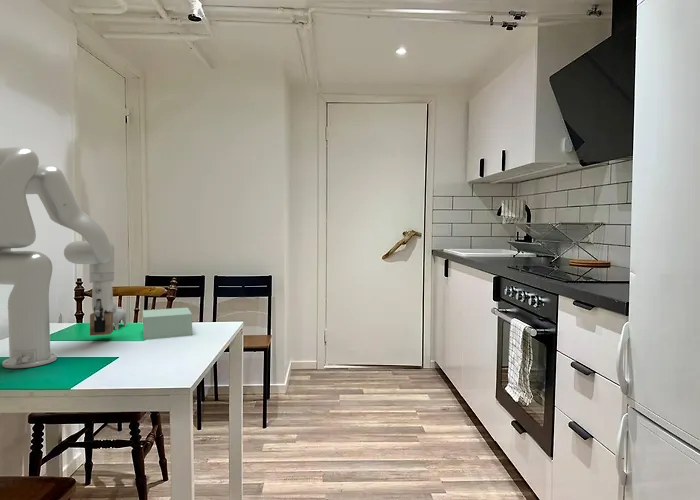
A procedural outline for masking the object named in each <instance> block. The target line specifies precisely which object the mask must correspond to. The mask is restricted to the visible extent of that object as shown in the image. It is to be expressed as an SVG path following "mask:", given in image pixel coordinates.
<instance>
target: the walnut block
mask: <svg viewBox="0 0 700 500" xmlns="http://www.w3.org/2000/svg"><path fill="white" fill-rule="evenodd" d="M101 314H102V313H101ZM94 318H95V312H94V311H93V312H92V313H90V314H89V336H105V335H106V336H108V335H111V334H112V333H113V332H114V323H113V312H105V316H104V320H105V332H97V333H95V332H94V321H95V320H94Z"/></svg>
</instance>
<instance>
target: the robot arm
mask: <svg viewBox="0 0 700 500" xmlns="http://www.w3.org/2000/svg"><path fill="white" fill-rule="evenodd" d="M27 195H37V196H38V198H39V200H40V202H41V204H42V205H43V207H44V209H45V211H46V213H47V215H48V217H49V219H50V220H51V221H53V222H54V223H56V224H58V225H60V226H62V227H64V228H67V229H69V230H71V231H73V232H75V233H77V234H79V235H81V237H83V238H84V239H85V240H77V241H76V240H75V241H72V242H69V243H68V244H67V245H66V246H65V248H64V249H63V256H64V258H65V260H67V261H68V262H70V263H71V264H75V265H88V267H89V273H88V274H89V278H88V281H89V284H90V283H91V284H92V289H91V290H92V296H91V307H92V312H93V313H94V312H95V318H94V320H95V321H94V332H95V333H97V332H105V320H104V316H105V312H109V311H110V310H111V309H112V308H113V303H114V296H113V295H114V294H113V291H114V290H113V283H115V245H114V243H113V242H110V239H109V237H108V235H107V233H106V231H105V230H104V228H103V227H102V226H101V225H100V224H99V223H98V222H97V221H96V220H94V219H93V218H92V217H91V216H90V215H88V214H87V213H85V212H84V211H83V210H82V209H81V208H80V206H79V204H78V201H77V200H76V197H75V195H74V193H73V192H72V189H71V187H70V185H69V183H68V181H67V179H66V177H65V175H64V173H63V171H62V170H61V169H60V168H58V167H57V166H54V165H49V164H48V165H45V164H42V165H41V164H40V161H39V157H38V155H37V153H36V152H35V151H34V150H32V149H30V148H27V147H19V146H18V147H17V146H16V147H14V146H13V147H1V148H0V285H11V286H12V285H13V287H12V289H11V291H10V294H9V296H8V300H7V314H8V315H7V316H8V321H7V322H8V348H9V349H8V352H9V353H8V354H9V358H6V359H4V360H2V367H3V368H6V369H25V368H27V369H28V368H34V367H40V366H43V365H48V364H50V363H53V362H55V361H56V360H57V359H58V357H57V356H58V355H57V354H56V353H52V352H51V332H50V331H51V329H50V328H51V325H50V286H51V280H52V276H53V275H52V274H53V263H52V261H51V259H50V257H49V256H48V255H46V254H44V253H42V252H40V251H35V250H33V251H32V250H12V249H23V248H27V247H30V246H31V245H33V244H34V243H35V241H36V238H37V234H36V228H35V224H34V221H33V218H32V215H31V211H30V207H29V204H28V199H27ZM101 313H102V314H101Z"/></svg>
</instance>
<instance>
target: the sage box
mask: <svg viewBox="0 0 700 500" xmlns="http://www.w3.org/2000/svg"><path fill="white" fill-rule="evenodd" d="M142 331H143V333H142V334H143V338H142V339H143V340H144V341H145V340H154V339H165V338H177V337H187V336H193V313H192V312H191V310H190V309H189V307H176V308H175V307H174V308H162V309H161V308H160V309H159V308H157V309H143V310H142Z"/></svg>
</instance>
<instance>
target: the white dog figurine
mask: <svg viewBox="0 0 700 500" xmlns="http://www.w3.org/2000/svg"><path fill="white" fill-rule="evenodd" d="M109 312H113V326H114V325H115V326H114V330H115V329H117V330H119V327H120V321H122V322H123V326H124V325H127V315H128V314H127V311H126V310H125V309H123V308H122V307H121V306H117V304H115V302H113V308H112V309H111V310H110V311H109Z"/></svg>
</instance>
